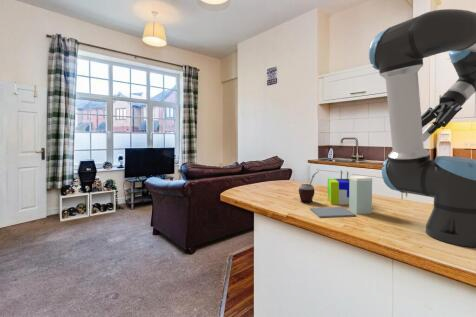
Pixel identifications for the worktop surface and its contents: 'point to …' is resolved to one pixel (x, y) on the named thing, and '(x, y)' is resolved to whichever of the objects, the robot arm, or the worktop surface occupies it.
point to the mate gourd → (307, 192)
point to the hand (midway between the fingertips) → (414, 139)
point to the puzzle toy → (338, 191)
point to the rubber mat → (332, 212)
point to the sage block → (360, 194)
